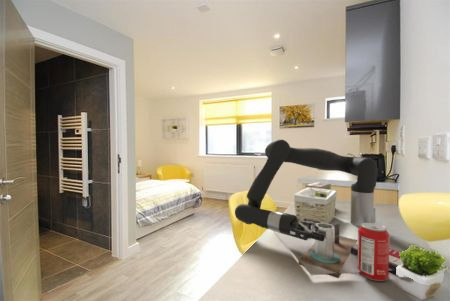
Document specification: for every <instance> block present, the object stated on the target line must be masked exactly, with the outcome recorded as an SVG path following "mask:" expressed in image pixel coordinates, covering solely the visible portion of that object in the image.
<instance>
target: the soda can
mask: <svg viewBox="0 0 450 301" xmlns="http://www.w3.org/2000/svg"><path fill="white" fill-rule="evenodd" d="M357 244H358V256H357V269H358V271H359V272H358V273H359V274H360V275H362V276H363V277H364V278H366V279H368V280H371V281H375V282H384V281H387V280H388V279H389V277H390V276H389V274H390V273H389V270H390V268H389V248H390V244H391V243H390V232H389V231H388V228H387V227H386V226H384V225H382V224H378V223H376V222H375V223H361V226H360V227H358V228H357Z"/></svg>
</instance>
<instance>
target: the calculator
mask: <svg viewBox="0 0 450 301" xmlns="http://www.w3.org/2000/svg"><path fill="white" fill-rule="evenodd" d="M399 252H400V251H398V250H395V249H392V248H390V247H389V274H391V275H394V276H396V267H397V266H398V265H401V264H402V261H401V259H400V256H399ZM350 254H353V255H355V256H357V257H358V243H357V244H355V245H354V247H352V248H351V252H350Z"/></svg>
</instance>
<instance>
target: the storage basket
mask: <svg viewBox="0 0 450 301" xmlns="http://www.w3.org/2000/svg"><path fill="white" fill-rule="evenodd" d="M316 193H320V194H327V198H324V197H318V196H316ZM293 195H294V196H293V202H294V208H295V212H294V213H295V216H296V217H297V219H298V221H304V219H309V220H314V221H319V222H320V223H327V224H331V222H332V221H333V219H334V217H335V216H336V215H335V214H336V212H335V211H336V202H337V191H336V190H335V189H331V190H327V189H319V188H309V187H308V188H303V189H302V190H300V191H297V192H296V193H294V194H293Z"/></svg>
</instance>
